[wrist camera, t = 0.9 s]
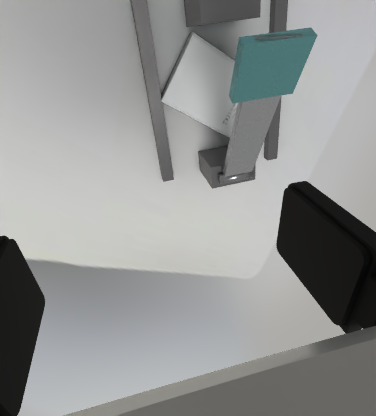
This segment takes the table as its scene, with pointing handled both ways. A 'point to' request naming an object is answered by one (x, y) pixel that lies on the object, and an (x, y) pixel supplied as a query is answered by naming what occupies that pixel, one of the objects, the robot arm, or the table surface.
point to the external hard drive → (202, 85)
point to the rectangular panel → (261, 92)
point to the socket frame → (195, 15)
